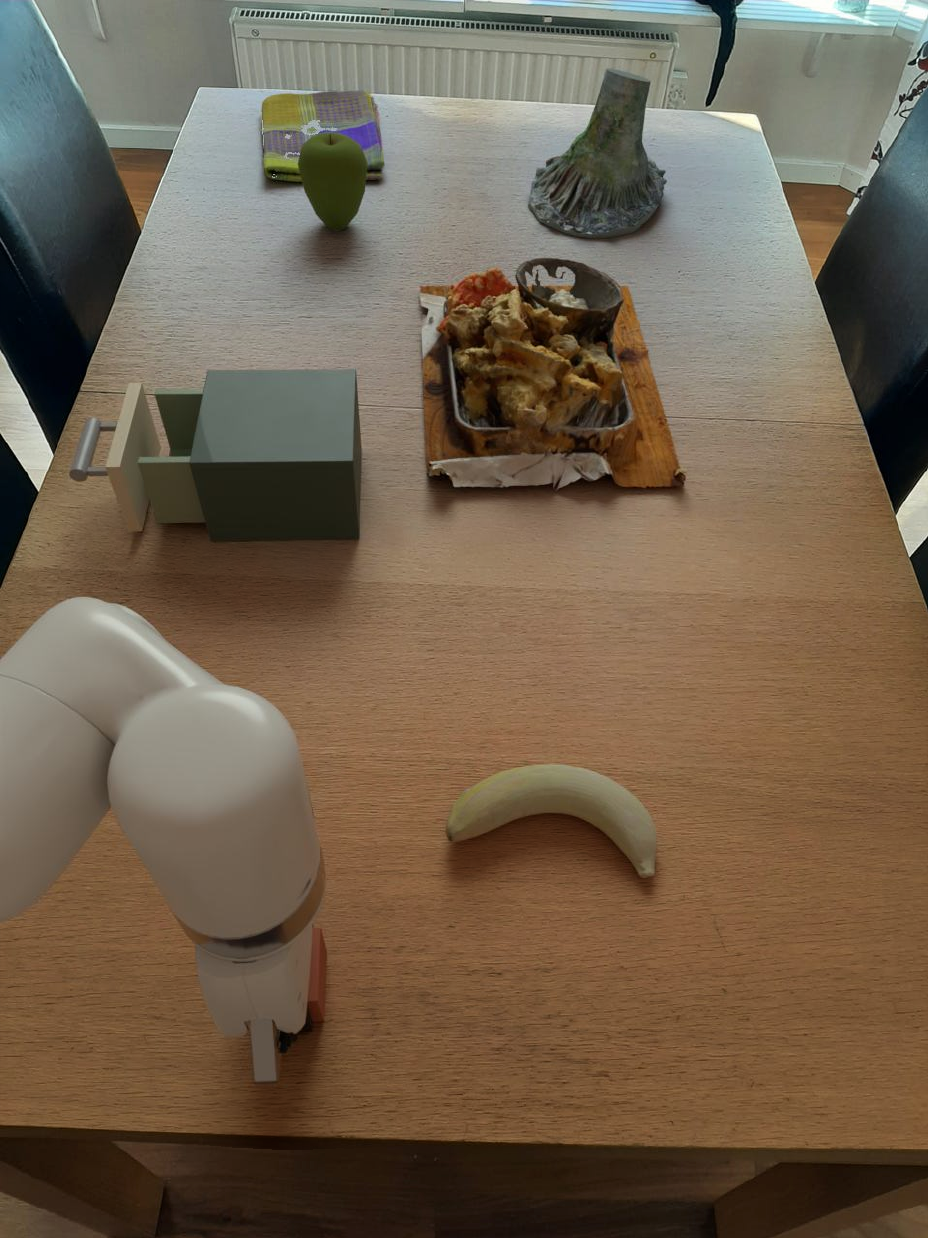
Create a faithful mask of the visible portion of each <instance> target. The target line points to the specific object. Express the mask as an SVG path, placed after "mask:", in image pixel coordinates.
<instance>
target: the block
mask: <svg viewBox="0 0 928 1238" xmlns="http://www.w3.org/2000/svg"><path fill="white" fill-rule="evenodd" d="M327 953H328V950H327V946H326V942H325V938H324V935H323V930H322V927H321V926H314V927H313V929H312V949H311V965H310V978H309V989H308V1000H307V1007H308V1010H309V1013H310V1016H311V1018H312V1021H313V1023H315V1022H324V1021H325V1012H326V1011H325V1009H326V986H327V985H326V984H327V981H326V980H327V960H328V959H327V958H328V956H327V955H328V954H327Z"/></svg>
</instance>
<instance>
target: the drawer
mask: <svg viewBox="0 0 928 1238" xmlns="http://www.w3.org/2000/svg"><path fill="white" fill-rule="evenodd" d="M143 385H144V384H143V382H128V383H127V388H126V391H125V395H124V398H123V401H122V405H121V409H120V412H119V416H118V419H117V422H102V421H101V420H100V419H99V418H96V417H88V418H86V419H85V421H84V424H83V427H82V430H81V434H80V437H79V439H78V443H77V447H76V450H75V453H74V456H73V459H72V463H71V466H70V470H69V472H68V474H69V477H70V479H72V480H73V481H75V482H78V483H79V482H80V483H82V482H85V481H86V480H88V477H108V479H109V481H110V485H111V486H112V490H113V492H114V495H115V498H116V500H117V503H118V506H119V509H120V512H121V514H122V517H123V519H124V521H125V525H126V528H127V530H128V532H143V530H144V529H143V528H144V525H145V520H146V515H147V511H148V507H149V503H150V504H151V508H152V511H153V514H154V517H155V521H156V523H157V524H187V523H188V524H190V523H191V524H192V523H193V524H194V523H197V524H198V523H205V519H204V516H203V512H202V508H201V505H200V501H199V497H198V493H197V490H196V486H195V482H194V479H193V475H192V471H191V468H190V464H189V462H190V457H191V451H192V446H193V441H194V436H195V431H196V426H197V421H198V416H199V411H200V406H201V400H202V395H203V390H204V388H156V389H155V391H154V398H155V401H156V404H157V408H158V411H159V415H160V419H161V422H162V425H163V429H164V433H165V435H166V439H167V443H168V446H169V453H168V454H169V455H168V456H160V455H161V450H162V446H161V442H160V439H159V436H158V432H157V429H156V426H155V423H154V419H153V415H152V412H151V409H150V405H149V402H148V398H147V396H146V392H145V389H144V386H143ZM102 432H103V433H104V432H105V433H106V432H114V434H113V437H112V441H111V444H110V449H109V451H108V455H107V459H106V463H105V466H92V464H93V460H94V456H95V453H96V450H97V446H98V442H99V440H100V437H101V433H102Z"/></svg>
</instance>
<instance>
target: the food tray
mask: <svg viewBox="0 0 928 1238" xmlns="http://www.w3.org/2000/svg"><path fill="white" fill-rule="evenodd" d="M538 266H542V267H543V268H544V269H545V270H546V272H547V275H548V277H550V278H553V279H560V280H563V279H564V274H566V273H567V271H561V276H560V277H559V276H557V270H558V268H567V269H568V270H570V271H571V272H572V273H573V274H574V283H573V285H541V281H540V280H539V269H535V270H536V274H535V277H534V273H533V271H534V270H533V269H534V267H538ZM526 273H528V274H529V275H530V276H531V277H532V278H534V282H535V284H533V283H532V284H531V285H528V280H527V276H526ZM514 276H515V277H514V278H515V281H516V283H517V285H514V284H512V283H511V281H510V280H509V279H508V278H506V275H505V274H504V273H503V271H502V269H500V268H499V267H494V268H487V269H486V272H485V273H484V272H481V273H480V272H475V273H472V274H469V275H468V276H466V277H465V278H464V279H462V280H461V281H460V282H458V283H457V284H456V283H451V285H450V286H448V285H426V286H424V285H419V292H420V293H419V300H420V306H421V307H423V308H426V309H428V311H427V315H426V314H422V313H421V314H422V316H421V327H420V328H421V329H420V330H421V331H420V332H421V347H422V348H421V350H422V351H421V354H422V356H421V357H422V383H423V388H422V389H423V412H424V414H423V417H424V429H425V430H424V431H425V432H424V436H425V437H424V441H425V453H426V454H425V458H426V459H425V461H426V476H427V477H429V476H430V477H434V479H439V480H443V479H444V478H445V477H446V476H447V475H448V478H449V479H450V481H451V482H452V485H453V487H454V488H461V487H462V488H466V487H471V488H475V487H476V488H478V487H480V488H504V487H505V488H508V487H510V486H511V487H514V486H522V487H524V486H536V487H537V486H539V485H540V486H542V485H548V484H552V483H553V484H552V485H553V488H552V490H553V491H554V492H555V493H556V492H557V491H558V490H559V489H560V488H563V487H565V486H567V485H569V484H570V483H574V482H576V481H578V480H580V479H584V480H585V481H589V482H593V481H596V480H598V479H600V478H602V476H603V477H604V476H606V474H607V475H611V476H612V479H613V481H614V483H615V484H616V485H617V486H620V487H622V488H623V487H625V488H632V487H637V488H643V489H647V487H649V488H652V487H654V488H656V487H658V488H660V487H666V488H668V487H670V488H671V487H672V488H673V487H680V488H681V487H682V488H683V487H684V485H685V482H686V479H687V478H686V475H688V471H687V469H685V468H683V467H681V466H680V464H679V460H678V457H677V454H676V452H677V451H676V448H675V446H674V442H673V437H672V435H671V430H670V427H669V423H668V420H667V418H666V413H665V409H664V405H663V403H662V399H661V396H660V392H659V389H658V386H657V382H656V378H655V376H654V372H653V369H652V366H651V361H650V357H649V350H650V349H647V346H646V342H645V340H644V337H643V332H642V329H641V328H640V326H641V324H640V321H639V319H638V316H637V313H636V309H635V305H634V302H633V299H632V294H631V292H630V288H629V285H620V284H619V283H618V282H617V281H616V280H615V279H614V278H612V277H611V276H610V275H609V274H607V273H606V272H603V271H601V270H599V269H596V268H594V267H591V266H589V265H588V264H586V263H584V262H578V261H575V260H571V259H563V258H561V259H560V258H556V257H538V258H533V259H528V260H525V261H524V262H522V263H520V265H519V266H518V267H517V268H516V270H515V275H514Z"/></svg>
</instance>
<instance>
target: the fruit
mask: <svg viewBox="0 0 928 1238" xmlns="http://www.w3.org/2000/svg"><path fill="white" fill-rule="evenodd" d="M540 814H562V815H569V816H573V817H577V818H578V819H581V820H584V821H586V822H587V823H589V824H591V825H593V826H595V827H596V828H597V829H599V830H600V831H601V832H603V833H604V834H605V835H606V836H607V837H608V838H609V839H611V840H612V842H613V843H614V844H615V845H616V846H617V847H618V848H619V850H621V852H622V853H623V854H624V855H625V857H627V859H628V860H629V861H630V863H631V864H632V865H633V867H634V869H635V870H636V872H637V874H638V876H639V878H641V879H647V878H652V877H654V876H655V874H656V873H655V869H656V868H655V867H656V866H655V865H656V864H655V863H656V858H657V857H656V856H657V850H658V834H657V829H656V825H655V822H654V820H653V818H652V816H651V814H650V812H649V811H648V809H647V808H646V807H645V806H644V804H643V803H642V802H641V801H640V800H639V799H638V798H637V796H635V795H634V794H633V793H631V792H630V791H629V789H627V788H626V787H624V786H622V785H621V784H619V783H618V782H616V781H615V780H613V779H611V778H609V777H608V776H606V775H603V774H601V773H598V772H596V771H594V770H590V769H587V768H584V767H579V766H571V765H567V764H557V763H555V764H554V763H548V764H531V765H524V766H519V767H513V768H509V769H506V770H503V771H500V772H497V773H495V774H491V775H490V776H487V777H486V778H484V779H483V780H481V781H479V782H478V783H476V784H474V785H472V786H470V787H469V788H466V789H465V790H463V791H462V793H461V794H460V795H459V797H458V798H457V799H456V800H455V801H454V803H453V804H452V806H451V809H450V812H449V815H448V819H447V822H446V825H445V831H444V832H445V837H446V838H447V840H448V842H449V843H450V842H451V843H454V842H455V843H456V842H457V843H458V842H462V841H466V840H469V839H473V838H476V837H479V836H481V835H484V834H487V833H489V832H491V831H493V830H495V829H497V828H499V827H501V826H505V825H506V824H509V823H510V822H513V821H515V820H518V819H521V818H525V817H528V816H533V815H540Z"/></svg>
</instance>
